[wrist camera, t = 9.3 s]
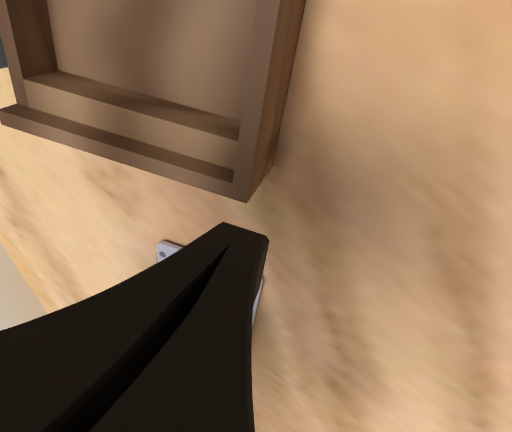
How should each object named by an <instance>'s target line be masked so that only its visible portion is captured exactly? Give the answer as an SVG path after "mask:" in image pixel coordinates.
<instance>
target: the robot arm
mask: <svg viewBox="0 0 512 432" xmlns="http://www.w3.org/2000/svg"><path fill="white" fill-rule="evenodd" d="M268 245H269V239H268V238H267V236H265V235H262V234H259V233H256V232H253V231H250V230H247V229H244V228H241V227H238V226H234V225H231V224H228V223H225V222H222V223H220V224H218V225H217V226H215V227H214V228H212V229H211V230H209V231H208V232H206V233H205V234H203V235H202V236H200V237H199V238H197V239H196V240H194V241H193V242H191V243H189V244H188V245H186V246H185V247H180V246H177V245H174V244H172V243H169V242H166V241H160V242H159V243H158V245H157V264H155V265H153V266H151V267H149V268H147V269H146V270H144V271H142V272H140V273H138V274H136V275H134V276H133V277H131V278H129V279H127V280H125V281H123V282H121V283H119V284H117V285H115V286H113V287H111V288H109V289H107V290H105V291H103V292H100V293H98V294H96V295H94V296H91V297H89V298H87V299H85V300H82V301H80V302H78V303H75V304H73V305H70V306H68V307H65V308H63V309H60V310H58V311H55V312H52V313H50V314H47V315H44V316H42V317H39V318H36V319H34V320H31V321H29V322H26V323H23V324H20V325H17V326H14V327H11V328H8V329H5V330H2V331H0V432H255V427H254V414H253V400H252V373H251V339H252V327H253V322H254V318H255V314H256V310H257V305H258V301H259V297H260V292H261V288H262V284H263V279H262V274H263V269H264V264H265V259H266V255H267V250H268ZM163 252H164V253H163Z"/></svg>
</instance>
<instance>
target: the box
mask: <svg viewBox="0 0 512 432" xmlns="http://www.w3.org/2000/svg"><path fill="white" fill-rule="evenodd" d="M305 2H306V0H0V35H1V39H2V43H3V47H4V51H5V56H6V60H7V64H8V68H9V72H10V76H11V80H12V85H13V89H14V93H15V97H16V101H17V104H14V105H11V106H8V107H5V108H2V109H0V121H1V124H2V125H5V126H8V127H11V128H14V129H17V130H20V131H23V132H26V133H29V134H33V135H36V136H39V137H42V138H45V139H48V140H51V141H54V142H57V143H61V144H64V145H67V146H70V147H73V148H76V149H79V150H82V151H85V152H88V153H92V154H95V155H98V156H101V157H104V158H107V159H110V160H113V161H116V162H120V163H123V164H126V165H129V166H132V167H135V168H138V169H141V170H144V171H147V172H151V173H154V174H157V175H160V176H163V177H166V178H169V179H172V180H175V181H179V182H182V183H185V184H188V185H191V186H194V187H197V188H200V189H203V190H207V191H210V192H213V193H216V194H219V195H222V196H225V197H228V198H231V199H234V200H238V201H241V202H244V203H247V202H248V201H249V199H250V198H251V196H252V195H253V193H254V192H255V191H256V189H257V188H258V186H259V185H260V183H261V182H262V181H263V179H264V178H265V176H266V175H267V173H268V172H269V171H270V169H271V168H272V166H273V161H274V156H275V151H276V146H277V141H278V136H279V131H280V126H281V121H282V116H283V111H284V106H285V101H286V96H287V91H288V86H289V81H290V77H291V72H292V67H293V62H294V57H295V52H296V47H297V42H298V37H299V32H300V27H301V22H302V17H303V12H304V7H305Z"/></svg>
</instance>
